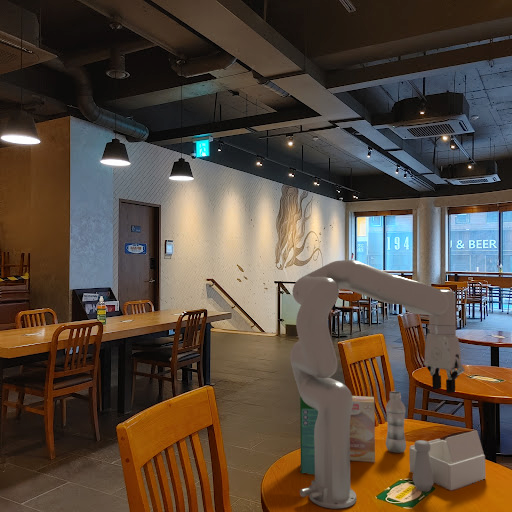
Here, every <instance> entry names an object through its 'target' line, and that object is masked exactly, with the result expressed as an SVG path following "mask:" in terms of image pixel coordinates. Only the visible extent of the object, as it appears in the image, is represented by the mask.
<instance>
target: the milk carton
mask: <svg viewBox="0 0 512 512" xmlns="http://www.w3.org/2000/svg"><path fill="white" fill-rule="evenodd" d="M299 408H300V411H299V412H300V413H299V415H300V416H299V419H300V423H299V424H300V426H299V429H300V430H299V433H300V474H303V473H308V474H307V475H315V442H314V429H315V423H316V420H317V417H318V411H317V410H316V409H314V408H312V407H310V406H309V405H307V404H306V403H305V402H304V401H303V400H302V398H301V396H300V395H299Z"/></svg>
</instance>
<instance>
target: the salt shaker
mask: <svg viewBox="0 0 512 512" xmlns="http://www.w3.org/2000/svg"><path fill="white" fill-rule="evenodd" d="M414 445H415V449H416V450H417V452H416V459H415V465H414V472H413V474H412V482H413V484H414V486H415V488H416V490H418V491H420V492H430V491H431V489H432V488H433V485H434V484H435V483H434V477H433V472H432V467H431V462H430V457H429V453H428V452H429V451H430V443H429V442H428V441H427V440H422V439H421V440H420V439H419V440H416V441H415V442H414Z"/></svg>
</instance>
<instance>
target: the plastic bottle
mask: <svg viewBox="0 0 512 512" xmlns="http://www.w3.org/2000/svg"><path fill="white" fill-rule="evenodd" d="M401 395H402V394H401V391H394V390H393V391H392V390H391V391H389V396H388V397H389V400H388V402H387V403H386V405H385V412H386V422H387V433H386V439H385V446H386V450H388V451H389V452H390V453H395V454H402V453H404V452H405V451H406V448H407V443H406V442H407V441H406V438H405V429H404V428H405V416H406V406H405V405H404V403H403V402H402V396H401Z"/></svg>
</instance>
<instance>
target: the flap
mask: <svg viewBox="0 0 512 512" xmlns="http://www.w3.org/2000/svg"><path fill="white" fill-rule="evenodd" d="M445 439H446V441H447V445H448V449H449V453H450V456H451V460H452V463H454V462H457V461H460V460H464V459H467V458H471V457H474V456H477V455H481V454H484V450H483V447H482V442H481V440H480V439H481V438H480V436H479V432H478V430H476V429H475V430H473V431H469V432H464V433H461V434H457V435H456V434H455V435H453V436H449V437H446V438H445ZM484 455H485V454H484Z"/></svg>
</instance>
